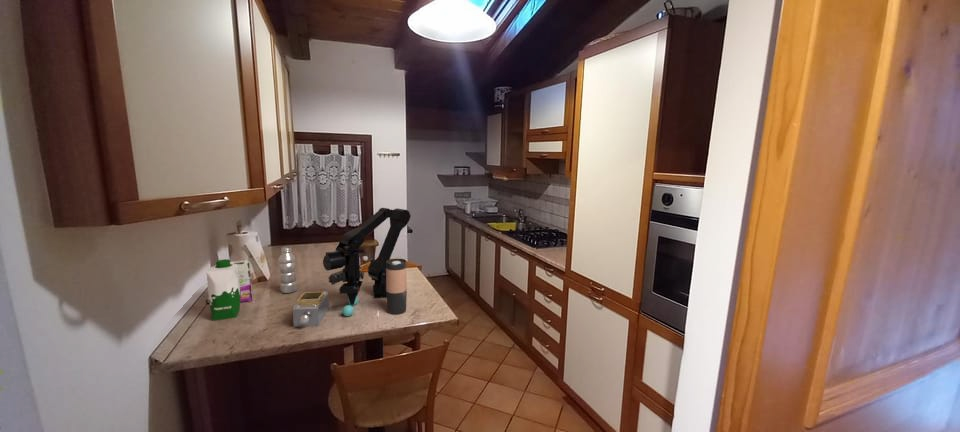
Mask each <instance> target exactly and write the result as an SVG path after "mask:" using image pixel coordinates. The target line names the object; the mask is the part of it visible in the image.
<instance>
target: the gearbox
mask: <svg viewBox="0 0 960 432" xmlns="http://www.w3.org/2000/svg"><path fill="white" fill-rule="evenodd" d="M329 304H330V303H329V291H325V290H323V291H311V292H310V291H307V292H303V293H302V294H301V295H300V296H299V298H298V299H297V303H296V304H295V305H294V306H293V307H292V316H293V318H292V319H293V328H306V327H319V326H320V324H321V323H322V321H323V320H324V318H325V316H326V315H327V313H328V311H329V310H330V305H329Z"/></svg>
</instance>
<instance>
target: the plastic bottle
mask: <svg viewBox="0 0 960 432" xmlns="http://www.w3.org/2000/svg"><path fill="white" fill-rule="evenodd" d="M280 251H281V254H280V255H279V257H278V265H279V269H280V271H279V272H280V287H279V289H280V292H282V293H283V294H290V293H294V292H296V290H298V283H297V278H296V277H297V276H296V269H295V268H296V257H295V255H294V254H293V253H292V251H293V250H292V246H288V245H287V246H283V247H281V250H280Z"/></svg>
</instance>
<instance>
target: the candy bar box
mask: <svg viewBox="0 0 960 432" xmlns="http://www.w3.org/2000/svg"><path fill="white" fill-rule="evenodd" d="M230 264H237V267H238V276H239V286H240V303H246V302H252V301H253V297H254V296H253V294H254V293H253V286H252V285H253V284H252V275H251V274H252V273H251V265H250V259H239V260H230ZM214 266H216V263H215V264H214Z"/></svg>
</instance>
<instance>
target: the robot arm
mask: <svg viewBox="0 0 960 432" xmlns="http://www.w3.org/2000/svg"><path fill="white" fill-rule="evenodd" d="M411 216H412V215H411V213H410V211H409V210H407V209H403V208H393V209H390V208H387V207H380V208H379V209H378V211H376V213H374V214H373V215H371V216H370V217H369V218H368V219H366V220H365V221H364V222H363V223H362V224H360V225H359V226H358V227H356V228H353V229H351V230H349V231H347V232H345V233H343V234H342V235H341V237H340V238H341V239H340V241H339V242H338V244H337V246H336V247H335V250H334V251H326V252H325V255H324V256H323V260H322V265H323V267H324V269H325V270H326V271H332V270H337V269H341V268H343V267H344V268H343V269H342V270H339V271H337V272H334V273H331V274H330V275H329V276H328V283H330V284H331V286H333V285H335V284H338V283H340V282H342V285H340V288H339V294H340V295H344V294H345V295H347V297H348V298H349V301H350V304H351V306H354V305H353V304H354V302H355V299H356V297H358V294H359V291H360V289H361V286H362V284H363V280H364V278H365V273H364V272H363V271H361V267H362V265H361V264H360V261H361V260H360V259H361V257H360V254H362V253H363V254H364V253H365V249H363V248H362V245H363V244H364V242H365V241H366V239H367V236H369V234H371V233H372V232H373V231H374V230H376V229H377V228H378V227H379V226H380V225H381V224H383V223H384V222H385V221H386V220H387V219H389V225H390V226H389V228H388V232H387V234H386V235H385V236H386V237H385V239H384V242H383V244H382V246H381V248H380V251H379V253H378V256H377V257H376V258H375V259H371V260H370V262H369V266H368V267H367V274H368V276H369V277H370V279H371V280H372V281H374V283H373V286H372V295H373V298H376V299H377V298H387V294H386V261H387V260H390V259H391V257H392V254H393V251H394V249H395V246H396V243H397V242H398V239H399V236H400V235H401V231H402V230H403V229H404V228H405V227H407V225H408V223H409V221H410V220H411ZM345 247H346V248H345ZM348 298H347V299H348ZM350 304H349V305H350Z"/></svg>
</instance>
